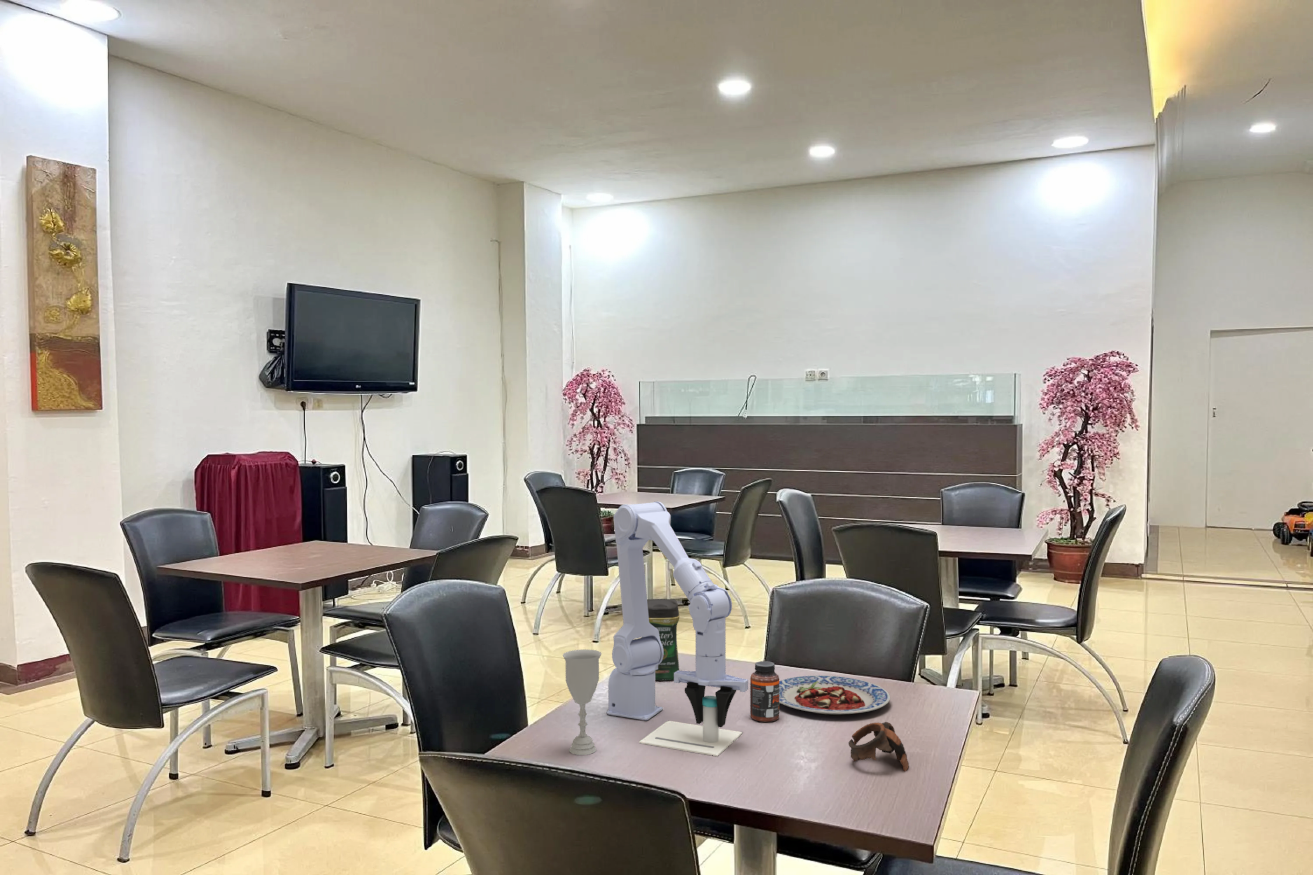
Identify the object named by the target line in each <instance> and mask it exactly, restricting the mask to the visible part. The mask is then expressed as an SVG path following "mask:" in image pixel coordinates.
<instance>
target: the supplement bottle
mask: <svg viewBox="0 0 1313 875" xmlns="http://www.w3.org/2000/svg"><path fill="white" fill-rule="evenodd" d="M775 668H776V666H775V662H772V661H767V660H765V661H763V660H762V661H756V662H755V663H754V670H755V671H754V672H752V673H751V674H750V678H749V680H750V683H749V685H750V686H749V687H750V688H749V689H750V690H749V694H750V695H749V706H750V707H749V713H750V718H751V719H752V720H754V721H758V722H764V723H771V722H775V721H777V720H779V718H780V703H779V681H780V675H779V674H778V673H777V672H775V670H776V669H775Z"/></svg>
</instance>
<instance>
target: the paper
mask: <svg viewBox="0 0 1313 875" xmlns="http://www.w3.org/2000/svg"><path fill="white" fill-rule="evenodd" d="M741 734H742V735H743V732H742V731H737V730H732V729H724V728H719V741H718V742H714V743H708V742H704V741H703V725H700V724H692V723H685V722H680V721H672V720H667V721H666V722H664V723H663V724H661V725H660V726H658V727H657V728H656V729H654V730H653V731H652V732H651V733H649V734H648V735H646V736H645V737H644V738H642V739H641V740H640V741H638V742H639V744H643V745H646V746H647V745H648V746H654V747H660V748H666V749H671V750H678V751H683V752H689V753H696V754H701V755H707V756H712V755H713V756H712V757H719V756H720V755H721V754H722V753H723V752H724V751H725V750H727V748H728V746H729V747H730V746H731V745H732V744H733V743H734V742H735V741H736V740H737V739H738V738H740V737H741V736H742V735H741ZM733 741H734V742H733ZM718 755H719V756H718Z"/></svg>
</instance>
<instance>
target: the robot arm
mask: <svg viewBox="0 0 1313 875" xmlns="http://www.w3.org/2000/svg"><path fill="white" fill-rule="evenodd" d="M671 517H672V516H671V514H670V512H668V510H667V507H666V506H665V504H664V503H663V502H661V501H658V500H657V501H653V502H643V503H631V504H629V503H625V504H622V505H620V506H619V507H618V508H617V510H616V512H614V515H613V523H614V524H613V526H614V536H615V537H614V538H615V543H616V553H617V554H616V555H617V565H618V575H619V576H618V577H619V587H620V598H621V599H620V600H621V610H622V611H621V612H622V622H623V624H622V626H621V627H620V628H619V629H618V630H617V631H616V632H615V634H614V635H613V647H612V650H611V651H612V652H611V658H612V659H611V660H612V663H613V665H614V666H615V668H614V669H613V670H612V671H611V672H610V673H609V674H610V675H609V677H608V683H607V686H608V688H607V689H608V690H607V691H608V699H607V700H608V711H606V714H607V715H609V716H616V717H622V718H628V719H635V720H640V721H641V720H643V721H648V720H650V719H651V718H653V717H654V716H656V715H657V714H659V713H660V712H661V711H662V710H664V707H662V706H658V705H656V681H655V670H657V669H658V664H660V663H661V661H662V659H663V655H664V650H663V646H662V643H661V641H660V637H659V631H658V629H656V628H655V627H654V626H652V625H651V624H650V623H649V616H648V604H647V599H648V597H647V596H648V594H647V582H646V573H645V559H644V552H643V551H644V550H643V548H644V547H645V545H647V543H648V542H649V541H653V542H654V544H655V545H656V547H658V549H659V550H660V551H661V553H662V554H663V555H664V556H665V558H666V559H667V560H668V561H669V562H670V564H671V565H672V566H673V572H672V576H673V577H672V578H674V580H675V581H676V583H677V584H678V587H679V588H680V589H681V590H682V592H683V593H684V596H686V598H687V599H688V601H689V604H688V607H687V608H688V611H689V615H690V618H691V620H692V627H693V630H694V631H695V671H693V670H680V669H679V670H678V671H676V672H675V673H674V680H673V683H674V684H680V683H681V684H686V686H685V687H684V694H685V695H686V697H687V698H688V700H689V703H690V705H691V709H692V711H693V714H694V719H695V722H696V725H700V724H701V723H703V705H702V698H703V697H705V696H706V695H705V694H706V693H705V692H706V687H712V688H717V689H718V690H717V691H715V695H714V696H716V700H717V708H718V727H719V728H723V727H724V726H725V725H726V722H727V716H728V712H729V709H730V706H731V703H732V701H733V699H734V696H735V694H736V693H737V691H739V692H740V693H746V692H747V691H748V690H749V678H748V679H746V678H742V677H738V676H734V675H730V674H727V672H726V669H727V668H726V667H727V665H726V663H727V662H726V660H727V658H726V656H727V655H726V648H727V647H726V646H727V645H726V644H727V642H726V633H727V632H726V630H727V629H726V623H727V622H726V618H727V617H729V616H730V614H731V612H732V609H733V602H732V598H731V596H730V594H729V592H728V590H726V588H724V587H719V585H718V584H714V582H713V581H712V579H711V578H710V576H709V575H708V573H707V571H705V569H704V567H703V565H702V564H701V562H700V560H699V561H698V559H695V558H691V557H689V556H688V554H687V553H686V550H685V549H684V547H683V545H682V543H681V542H680V540H679V538H678V537H677V535H676V532H675V531H674V529H673V528H672V526H671V522H672V521H671V520H672V519H671ZM642 637H643V638H642Z"/></svg>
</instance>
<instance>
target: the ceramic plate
mask: <svg viewBox="0 0 1313 875" xmlns="http://www.w3.org/2000/svg"><path fill="white" fill-rule="evenodd" d="M890 700H891V695H890V693H889V692H888V691H887V690H886V689H885V688H884V687H882V686H880V685H878V684H875V683H872V682H870V681H865V680H863V679H857V678H853V677H845V676H839V675H820V674H819V675H816V674H815V675H814V674H813V675H801V676H800V675H799V676H794V677H788V678H785V679H781V680H779V704H781V705H784V706H786V707H789V708H793V709H796V710H801V711H805V712H808V713H813V714H819V715H820V714H821V715H841V716H842V715H851V714H860V713H866V712H871V711H875V710H878V709H880V708H882V707H885V706H886V705H887V704H888V703H889V702H890Z"/></svg>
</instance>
